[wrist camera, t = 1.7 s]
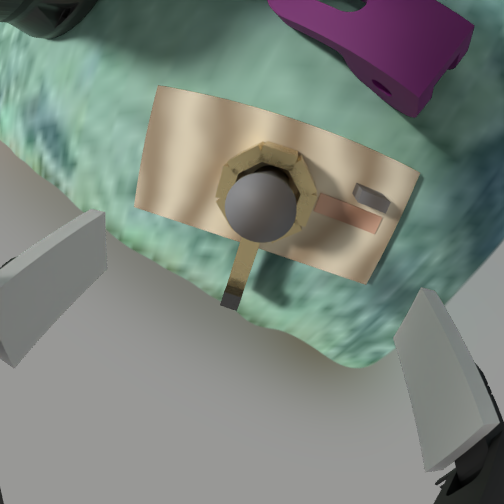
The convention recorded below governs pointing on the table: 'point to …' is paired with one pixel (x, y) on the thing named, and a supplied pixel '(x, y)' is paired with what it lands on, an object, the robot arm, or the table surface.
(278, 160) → the collar
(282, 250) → the base
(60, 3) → the robot arm
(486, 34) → the table surface
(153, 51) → the table surface
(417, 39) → the mounting bracket
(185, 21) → the table surface
